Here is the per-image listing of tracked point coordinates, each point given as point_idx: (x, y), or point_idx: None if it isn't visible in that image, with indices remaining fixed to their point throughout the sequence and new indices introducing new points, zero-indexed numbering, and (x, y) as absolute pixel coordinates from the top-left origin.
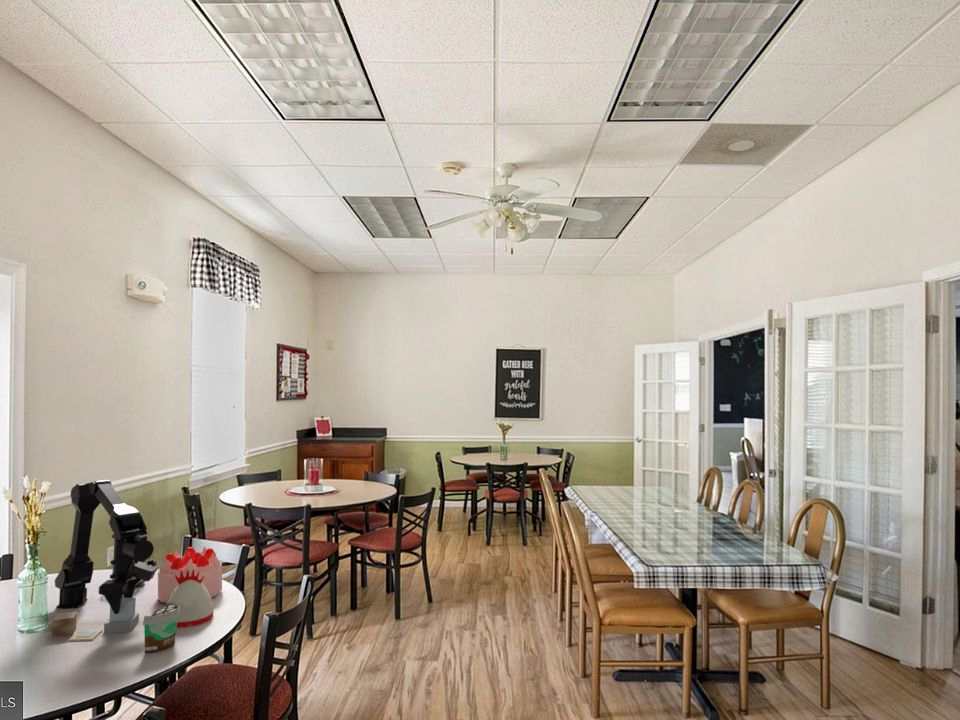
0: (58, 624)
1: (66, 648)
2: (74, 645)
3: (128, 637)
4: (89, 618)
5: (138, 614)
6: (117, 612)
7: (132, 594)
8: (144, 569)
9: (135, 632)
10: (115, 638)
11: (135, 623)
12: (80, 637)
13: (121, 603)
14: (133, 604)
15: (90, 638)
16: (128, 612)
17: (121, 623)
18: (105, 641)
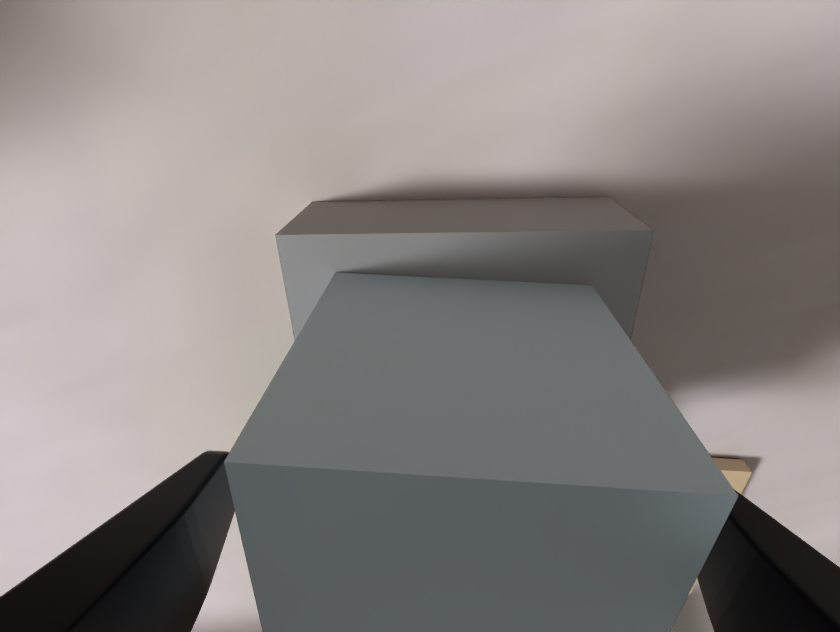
0: None
1: (837, 559)
2: (797, 534)
3: (833, 151)
4: (233, 582)
5: (303, 231)
6: (743, 509)
7: (77, 584)
8: None
9: (676, 118)
10: (789, 289)
11: (428, 207)
12: None
13: (662, 618)
14: (395, 381)
15: (744, 484)
16: (633, 351)
17: None
18: (832, 355)
